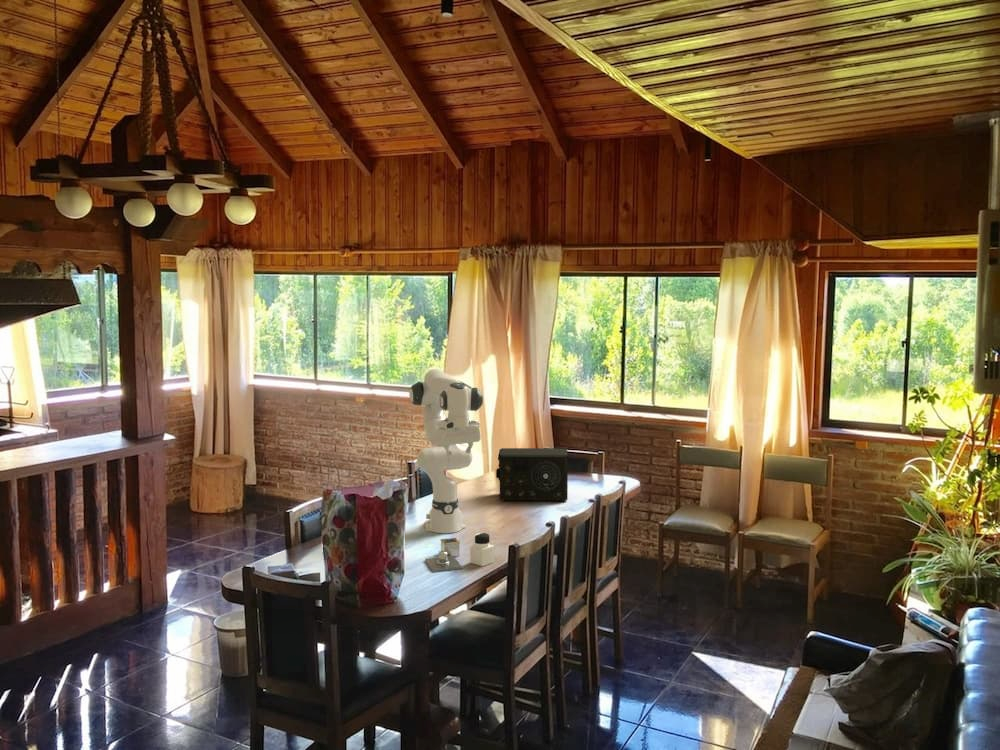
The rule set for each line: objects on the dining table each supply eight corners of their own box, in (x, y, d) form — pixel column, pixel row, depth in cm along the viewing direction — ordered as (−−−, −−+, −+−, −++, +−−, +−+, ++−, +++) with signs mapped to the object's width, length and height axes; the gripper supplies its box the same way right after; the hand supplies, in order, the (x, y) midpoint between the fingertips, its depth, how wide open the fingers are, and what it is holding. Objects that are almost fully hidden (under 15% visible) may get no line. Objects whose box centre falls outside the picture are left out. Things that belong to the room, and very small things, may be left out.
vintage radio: (495, 503, 449) (495, 455, 446) (497, 493, 469) (496, 448, 466) (568, 503, 448) (568, 455, 445) (567, 494, 467) (567, 448, 464)
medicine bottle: (494, 562, 357) (494, 533, 356) (482, 566, 352) (482, 537, 351) (481, 558, 362) (481, 530, 361) (469, 562, 357) (469, 534, 355)
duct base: (424, 561, 359) (424, 548, 358) (453, 558, 362) (453, 545, 362) (432, 572, 346) (432, 559, 345) (461, 568, 349) (461, 555, 349)
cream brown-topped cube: (440, 552, 369) (440, 539, 369) (455, 551, 371) (455, 537, 371) (444, 557, 363) (444, 543, 362) (459, 556, 365) (459, 542, 364)
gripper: (475, 418, 375) (475, 450, 376) (433, 423, 363) (434, 455, 365) (483, 420, 369) (483, 452, 371) (441, 425, 358) (441, 458, 360)
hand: (458, 454), depth 368 cm, fingers open, 8 cm apart
